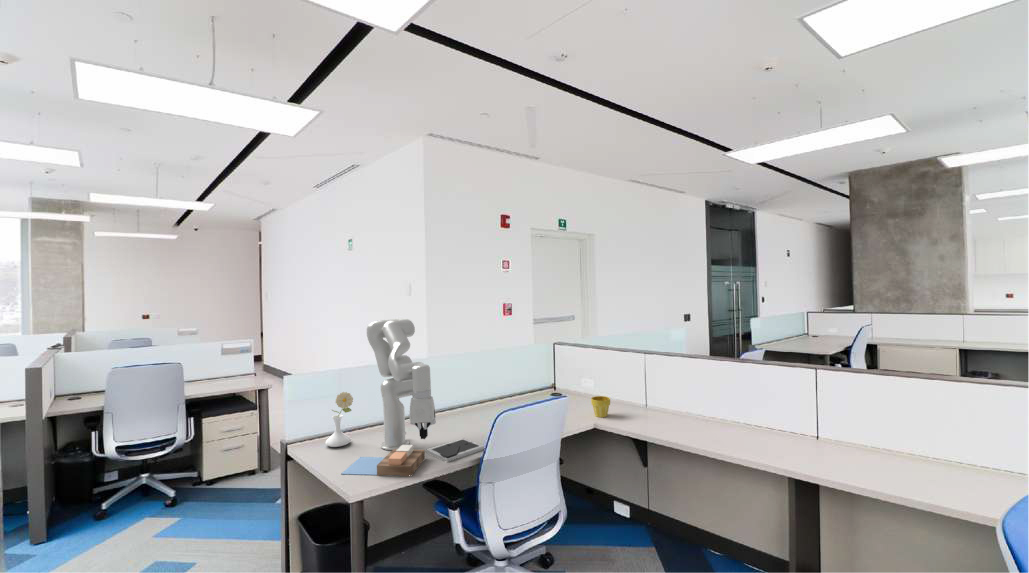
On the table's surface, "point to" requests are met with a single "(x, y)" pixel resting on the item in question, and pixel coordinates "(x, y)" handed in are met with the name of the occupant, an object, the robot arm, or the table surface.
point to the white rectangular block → (405, 449)
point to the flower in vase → (338, 436)
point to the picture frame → (455, 449)
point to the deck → (405, 467)
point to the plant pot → (600, 405)
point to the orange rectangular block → (397, 458)
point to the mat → (364, 466)
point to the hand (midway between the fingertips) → (423, 438)
